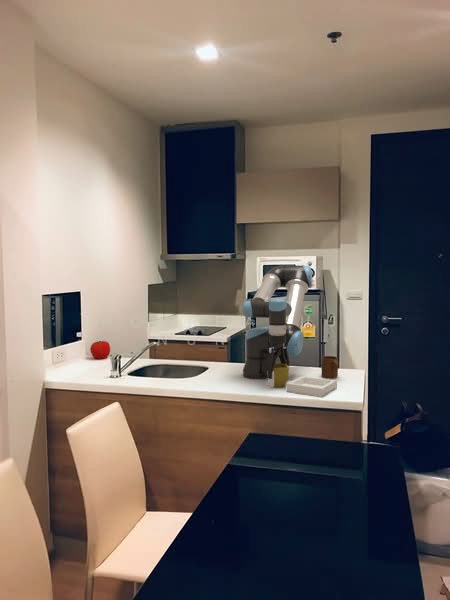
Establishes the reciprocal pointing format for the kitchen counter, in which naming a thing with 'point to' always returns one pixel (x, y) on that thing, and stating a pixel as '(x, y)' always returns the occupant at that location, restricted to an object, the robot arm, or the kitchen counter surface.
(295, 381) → the white square tray
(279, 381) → the flower pot
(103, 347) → the tomato
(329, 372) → the mug
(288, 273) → the robot arm
